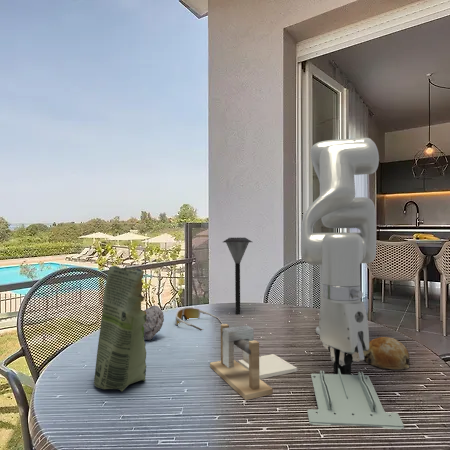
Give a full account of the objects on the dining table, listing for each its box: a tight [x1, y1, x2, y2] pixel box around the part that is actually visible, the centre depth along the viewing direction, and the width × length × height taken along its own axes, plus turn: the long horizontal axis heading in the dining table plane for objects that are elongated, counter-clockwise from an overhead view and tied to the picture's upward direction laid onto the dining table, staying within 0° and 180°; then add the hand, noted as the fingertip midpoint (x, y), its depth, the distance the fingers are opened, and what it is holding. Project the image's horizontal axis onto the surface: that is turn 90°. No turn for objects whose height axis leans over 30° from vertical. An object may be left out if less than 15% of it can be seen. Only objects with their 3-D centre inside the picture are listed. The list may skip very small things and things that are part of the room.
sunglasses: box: [175, 306, 224, 331], centre depth 120 cm, size 14×15×5 cm
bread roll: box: [363, 336, 410, 371], centre depth 83 cm, size 10×10×8 cm
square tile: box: [237, 353, 298, 380], centre depth 81 cm, size 10×10×1 cm
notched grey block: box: [223, 324, 255, 368], centre depth 74 cm, size 6×3×8 cm, turn 114°
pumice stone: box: [143, 305, 165, 341], centre depth 103 cm, size 10×8×10 cm
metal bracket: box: [306, 368, 405, 430], centre depth 62 cm, size 14×6×15 cm
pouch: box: [93, 264, 147, 392], centre depth 73 cm, size 11×12×25 cm
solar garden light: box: [222, 237, 253, 315], centre depth 135 cm, size 12×12×30 cm
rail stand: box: [209, 323, 274, 401], centre depth 74 cm, size 18×6×10 cm, turn 25°
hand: (342, 382), depth 71 cm, fingers closed
